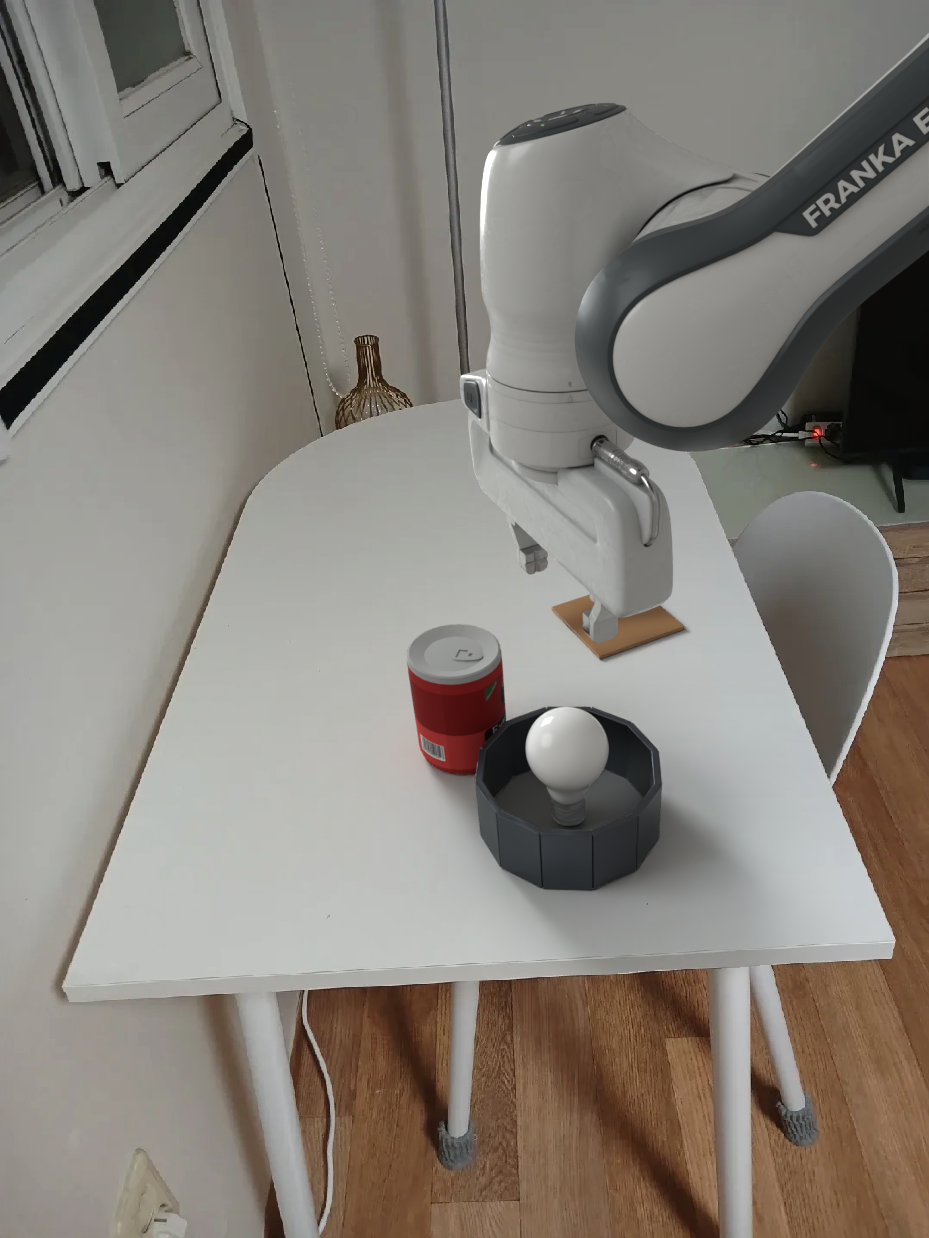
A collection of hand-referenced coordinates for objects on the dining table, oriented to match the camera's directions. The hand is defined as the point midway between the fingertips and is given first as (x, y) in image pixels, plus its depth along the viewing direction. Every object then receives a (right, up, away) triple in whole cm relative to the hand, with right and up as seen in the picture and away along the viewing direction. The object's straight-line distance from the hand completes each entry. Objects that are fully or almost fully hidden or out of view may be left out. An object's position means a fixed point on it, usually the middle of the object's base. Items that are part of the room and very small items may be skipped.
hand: (564, 600), depth 65 cm
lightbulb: (+2, -18, +12) cm, 22 cm away
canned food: (-7, -13, +20) cm, 25 cm away
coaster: (+9, -1, +34) cm, 35 cm away
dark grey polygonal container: (+2, -18, +12) cm, 21 cm away
